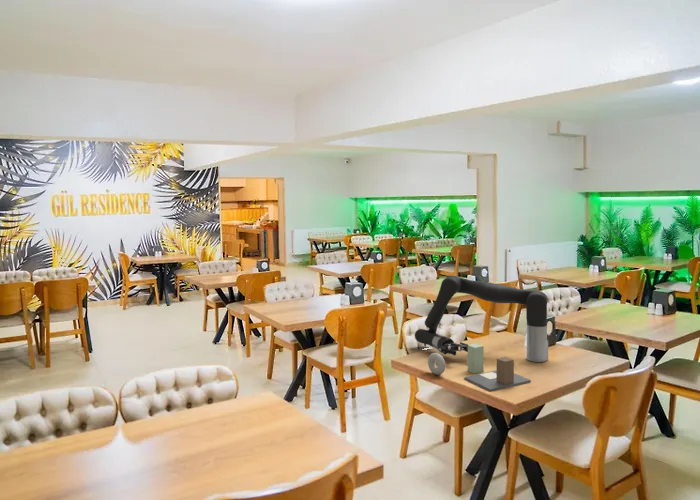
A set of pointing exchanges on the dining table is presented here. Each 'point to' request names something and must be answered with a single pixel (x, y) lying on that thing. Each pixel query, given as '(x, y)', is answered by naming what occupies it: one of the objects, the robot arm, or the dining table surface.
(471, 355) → the green pillar
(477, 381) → the build plate
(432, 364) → the donut
